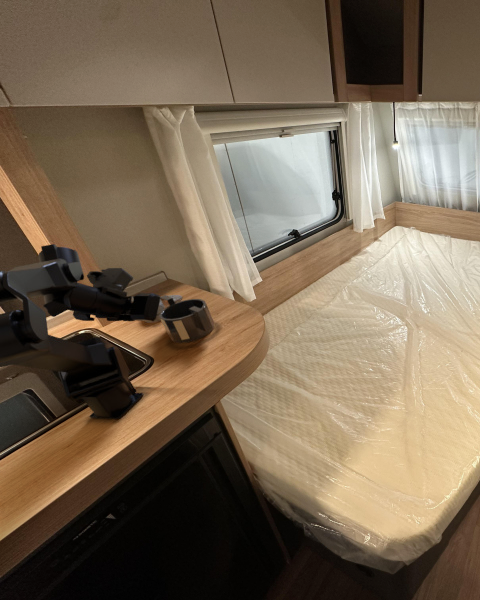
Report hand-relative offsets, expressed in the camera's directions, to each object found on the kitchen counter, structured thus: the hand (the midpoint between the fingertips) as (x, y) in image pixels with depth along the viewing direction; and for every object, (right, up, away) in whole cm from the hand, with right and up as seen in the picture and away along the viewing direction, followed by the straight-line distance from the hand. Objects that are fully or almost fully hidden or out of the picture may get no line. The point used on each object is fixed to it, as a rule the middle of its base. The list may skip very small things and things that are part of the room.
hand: (148, 314), depth 81 cm
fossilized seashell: (-7, -1, +16) cm, 18 cm away
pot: (+8, -5, +6) cm, 11 cm away
